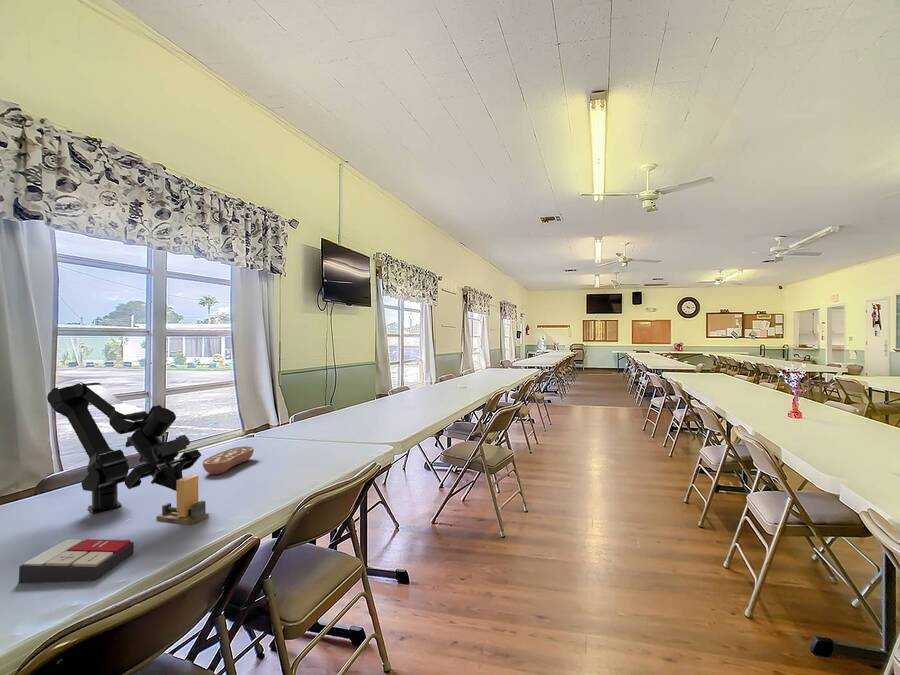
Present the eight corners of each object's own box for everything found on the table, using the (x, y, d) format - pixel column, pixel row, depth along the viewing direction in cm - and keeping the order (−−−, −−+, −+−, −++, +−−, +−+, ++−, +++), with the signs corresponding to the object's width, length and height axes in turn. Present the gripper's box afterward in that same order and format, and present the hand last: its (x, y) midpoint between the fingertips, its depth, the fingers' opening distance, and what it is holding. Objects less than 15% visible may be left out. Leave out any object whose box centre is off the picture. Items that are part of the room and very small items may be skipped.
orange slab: (176, 516, 111) (176, 480, 111) (191, 509, 115) (190, 474, 115) (184, 517, 110) (184, 481, 110) (198, 510, 114) (198, 475, 114)
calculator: (96, 564, 84) (18, 562, 83) (95, 586, 84) (17, 584, 83) (135, 538, 95) (66, 536, 94) (134, 557, 95) (65, 555, 94)
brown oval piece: (221, 478, 145) (220, 464, 145) (194, 477, 146) (194, 463, 146) (258, 459, 168) (258, 446, 168) (235, 458, 169) (235, 446, 169)
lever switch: (156, 519, 112) (156, 502, 112) (173, 512, 117) (173, 495, 117) (192, 525, 109) (192, 507, 109) (208, 517, 114) (208, 500, 114)
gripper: (132, 435, 105) (167, 483, 102) (195, 421, 123) (227, 461, 120) (109, 465, 107) (143, 512, 104) (174, 446, 125) (205, 486, 122)
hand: (183, 491), depth 113 cm, fingers closed, pressing on orange slab
